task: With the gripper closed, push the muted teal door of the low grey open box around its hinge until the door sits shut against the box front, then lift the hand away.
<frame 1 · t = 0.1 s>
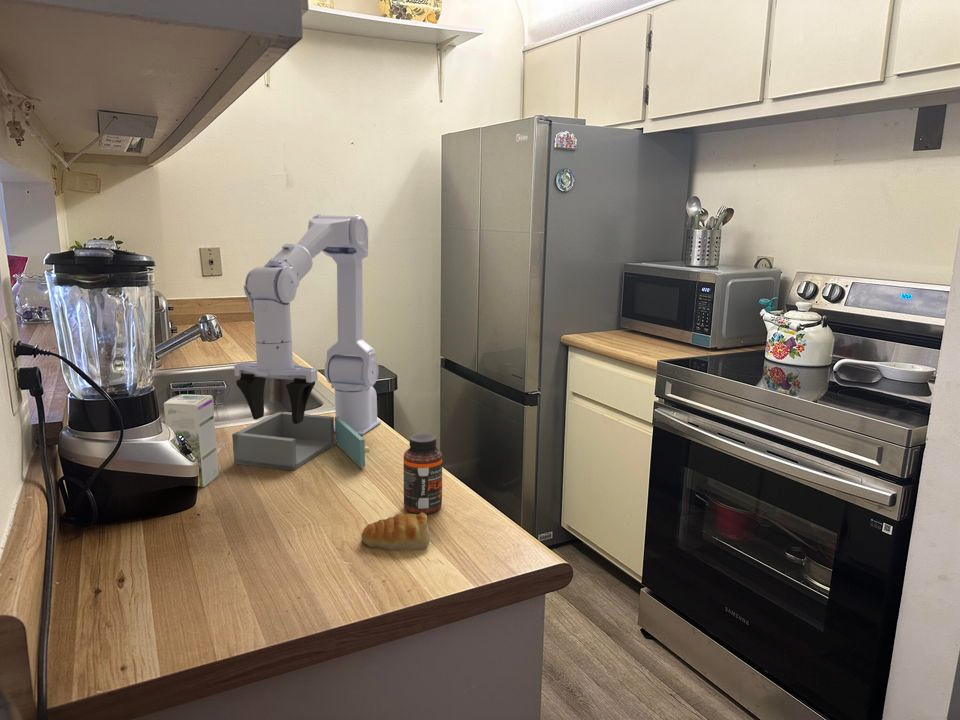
hand: (278, 420, 114), 10 cm above the counter, fingers open, 7 cm apart
cabinet door: (351, 440, 126), point 3 cm above the counter, hinge at 45.0°
grey open box: (286, 453, 127), on the counter
pastry: (401, 543, 94), on the counter
syrup box: (195, 482, 114), on the counter
supplement bottle: (423, 508, 105), on the counter
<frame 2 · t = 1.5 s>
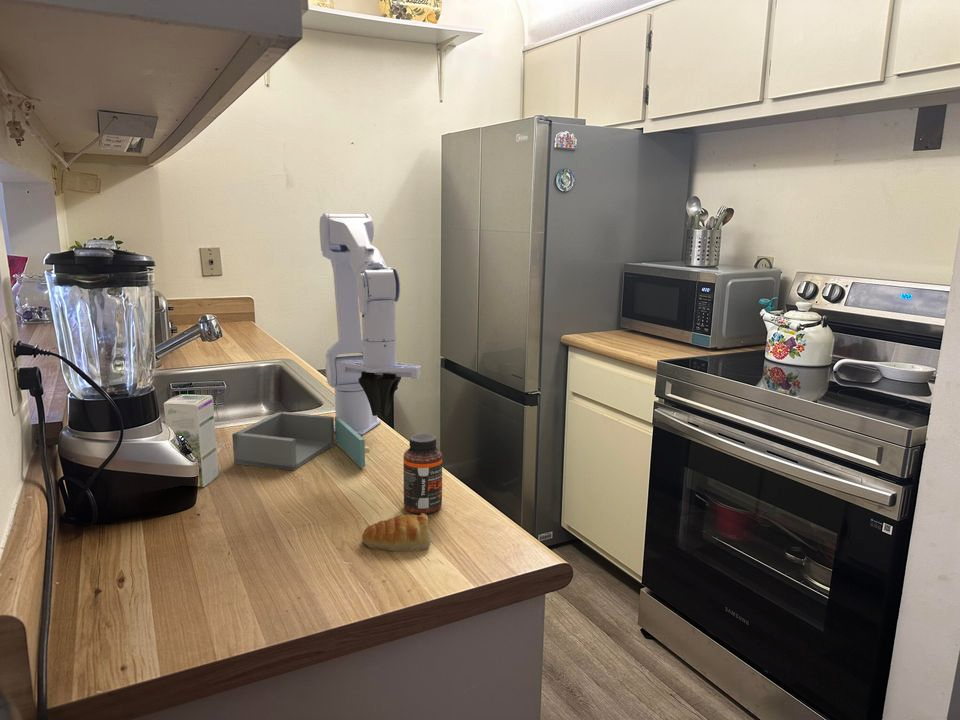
hand: (380, 414, 120), 9 cm above the counter, fingers closed
nothing on the counter moved.
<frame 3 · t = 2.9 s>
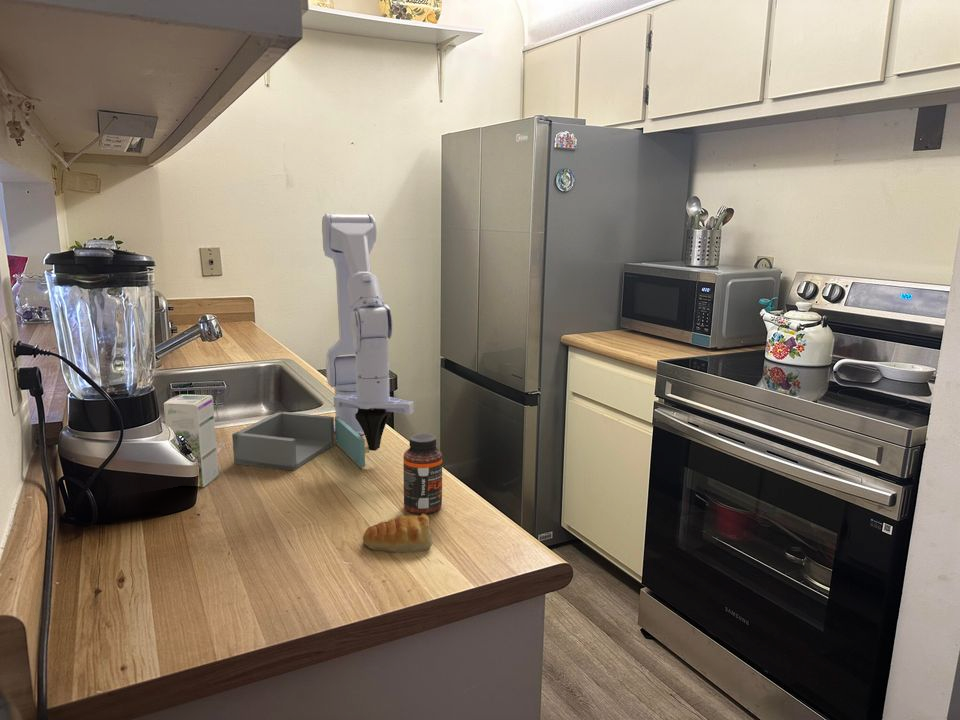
hand: (374, 448, 122), 3 cm above the counter, fingers closed, pressing on cabinet door
cabinet door: (351, 440, 126), point 3 cm above the counter, hinge at 45.0°, touching gripper
everything else where it was.
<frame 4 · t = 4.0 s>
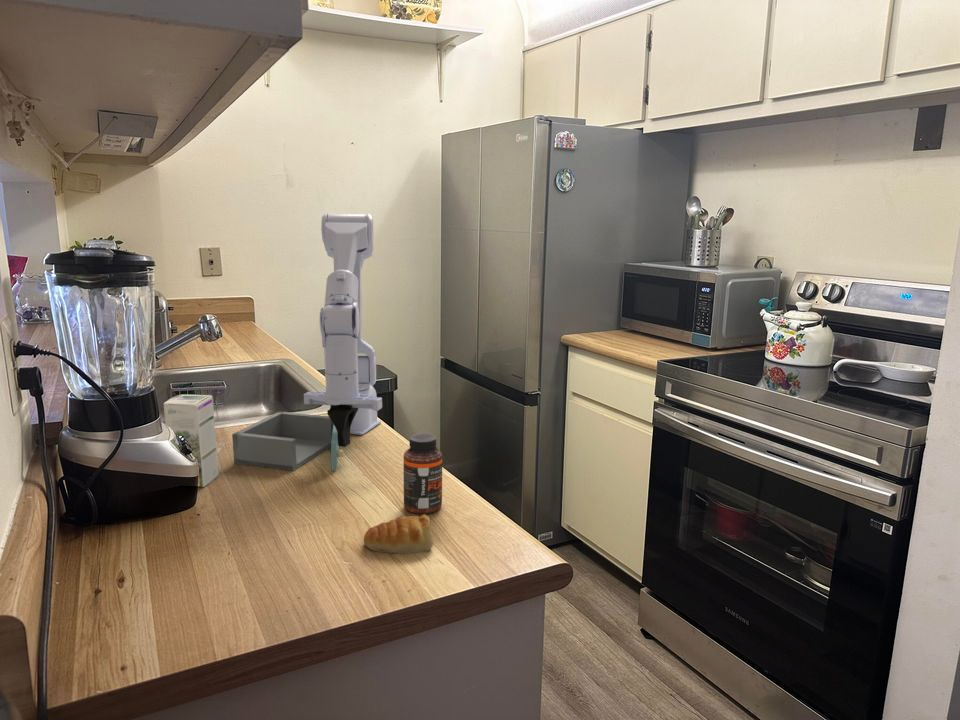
hand: (344, 444, 123), 3 cm above the counter, fingers closed, pressing on cabinet door
cabinet door: (338, 441, 125), point 3 cm above the counter, hinge at 25.8°, touching gripper
everything else where it was.
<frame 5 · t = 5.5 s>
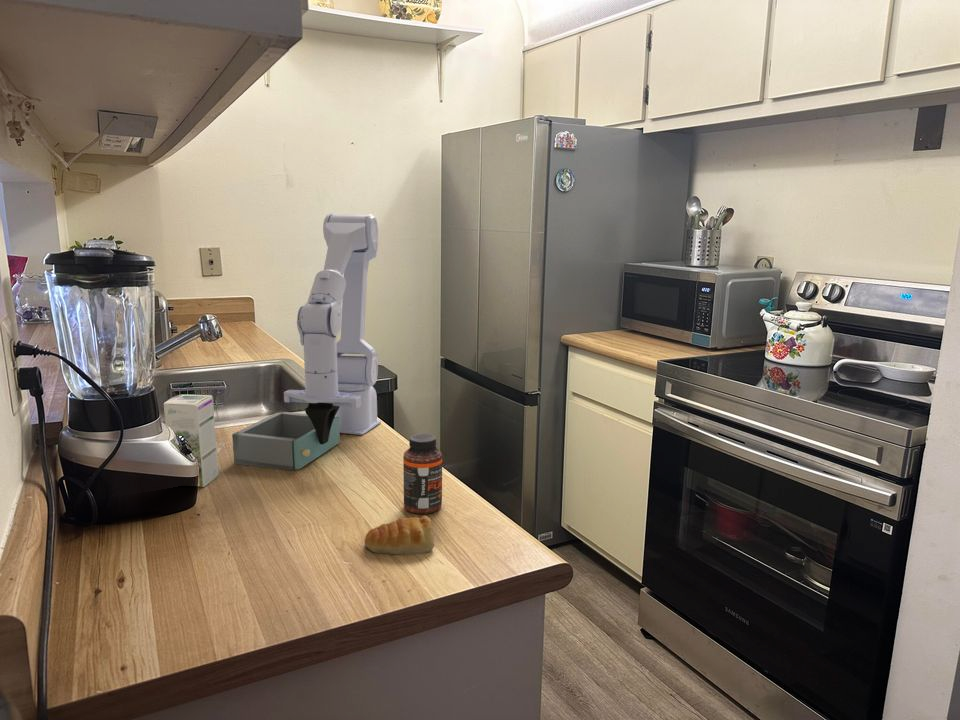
hand: (323, 442, 124), 3 cm above the counter, fingers closed
cabinet door: (321, 441, 125), point 3 cm above the counter, hinge at 0.1°, touching gripper
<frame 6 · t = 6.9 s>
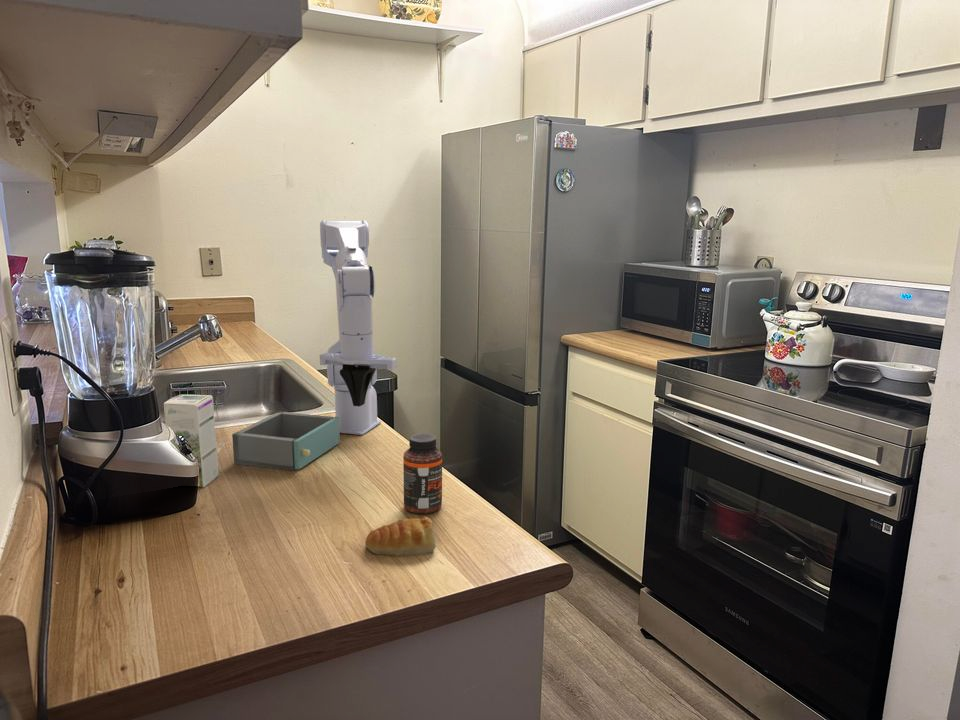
hand: (358, 404, 126), 9 cm above the counter, fingers closed
cabinet door: (321, 441, 125), point 3 cm above the counter, hinge at 0.1°
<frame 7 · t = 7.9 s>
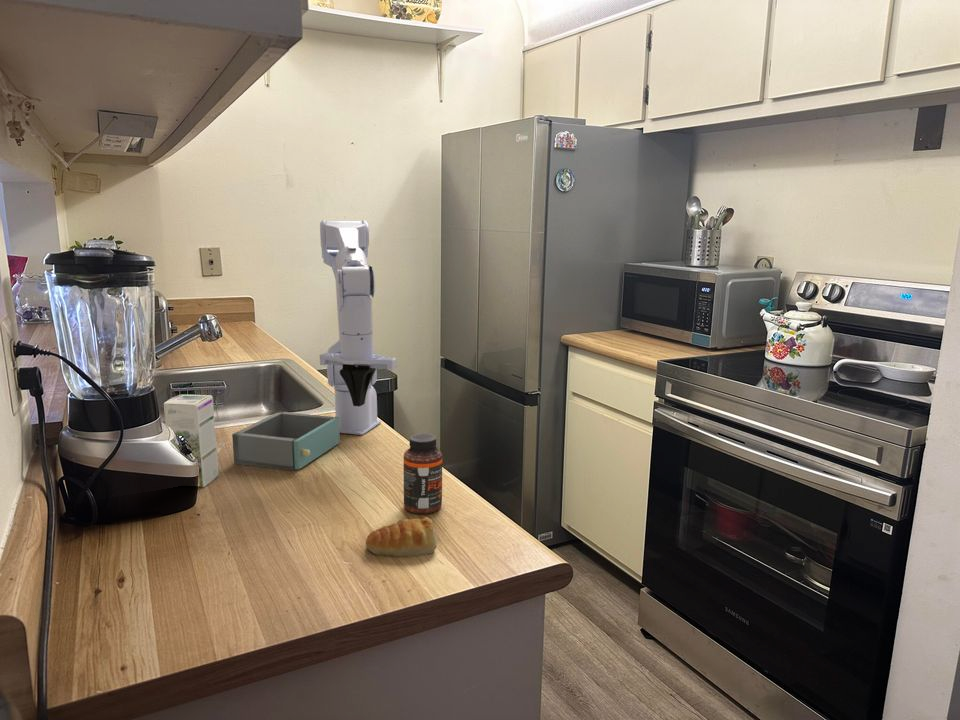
hand: (358, 404, 126), 9 cm above the counter, fingers closed
at the end: cabinet door at +0° (first picture: +45°) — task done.
